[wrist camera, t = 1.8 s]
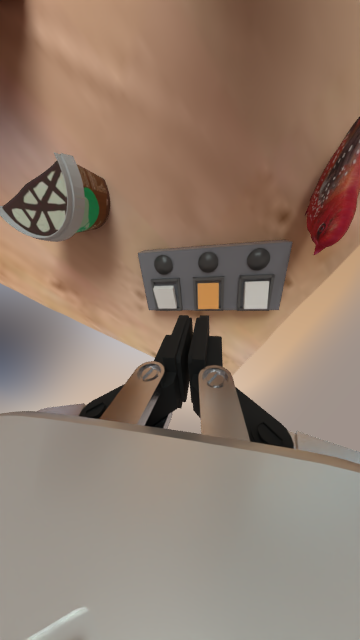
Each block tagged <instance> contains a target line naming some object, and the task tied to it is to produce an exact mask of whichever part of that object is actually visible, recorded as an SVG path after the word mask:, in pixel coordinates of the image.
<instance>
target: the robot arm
mask: <svg viewBox="0 0 360 640" xmlns="http://www.w3.org/2000/svg"><path fill="white" fill-rule="evenodd" d="M189 381H190V391H191V401H192V403H193V410H194V411H195V413H196V414H197V415H198V416H199V417H200V419H201V434H196V433H190V432H183V431H176V430H170V429H167V428H168V426H169V423H170V420H171V417H172V412H173V411H174V410H175V409H177V408H181V407H182V402H186V399H187V393H188V387H189ZM0 640H360V452H357V451H354V450H351V449H348V448H346V447H343V446H340V445H337V444H334V443H331V442H328V441H325V440H322V439H319V438H316V437H313V436H310V435H307V434H304V433H301V432H299V431H296V433H293V432H290V431H287V429H286V428H285V427H284V426H283V425H282V424H281V423H280V422H278V421H277V420H276V419H275V418H273V417H272V416H271V415H270V414H268V413H267V412H266V411H265V410H263V409H262V408H261V407H260V406H258V405H257V404H256V403H255V402H253V401H252V400H251V399H250V398H248V397H247V396H246V395H245V394H243V393H242V392H241V391H240V390H238V389H237V388H236V387H235V385H234V381H233V378H232V375H231V373H230V372H229V371H228V370H227V369H225V368H224V367H223V365H222V338H221V337H218V336H209V316H200V318H196V323H195V327H194V332H193V328H192V318H189V316H188V315H180V316H179V318H178V320H177V323H176V325H175V327H174V330H173V332H172V335H166V336H165V338H164V340H163V342H162V344H161V347H160V349H159V351H158V353H157V355H156V357H155V360H154V361H151V362H146V363H144V364H142V365H140V366H139V367H138V368H137V369H136V370H135V372H134V373H133V374H132V375H131V377H130V378H129V379H128V381H127V382H126V384H124V385H122V386H120V387H118V388H116V389H114V390H113V391H110V392H109V393H107V394H105V395H103V396H101V397H99V398H97V399H95V400H93V401H92V402H90V403H89V404H87V405H86V406H85V404H76V405H68V406H60V407H52V408H45V409H41V410H39V411H37V412H35V411H22V412H9V413H2V414H0Z"/></svg>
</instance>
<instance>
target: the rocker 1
mask: <svg viewBox="0 0 360 640" xmlns="http://www.w3.org/2000/svg"><path fill="white" fill-rule="evenodd" d="M153 291H154V294H155V298H156V301H157V305H158V308H159V309H176V308H177V301H176V295H175V290H174V286H154V288H153Z"/></svg>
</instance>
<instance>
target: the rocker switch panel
mask: <svg viewBox="0 0 360 640" xmlns="http://www.w3.org/2000/svg"><path fill="white" fill-rule="evenodd" d="M291 247H292V241H288V240H273V241H260V242H248V243H235V244H222V245H209V246H196V247H183V248H170V249H157V250H145V251H142V252H139V253H138V257H139V262H140V267H141V272H142V277H143V282H144V287H145V293H146V298H147V303H148V308H149V310H156V311H182V310H195V311H223V310H237V311H269V310H279V306H280V301H281V296H282V291H283V286H284V281H285V276H286V271H287V267H288V262H289V257H290V252H291ZM253 281H269V291H268V303H267V309H244V308H243V304H244V284H245V282H253ZM198 283H219V309H198ZM154 286H174V290H175V295H176V301H177V308H176V309H159V308H158V305H157V301H156V298H155V294H154V291H153V288H154Z"/></svg>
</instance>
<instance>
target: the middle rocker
mask: <svg viewBox="0 0 360 640" xmlns="http://www.w3.org/2000/svg"><path fill="white" fill-rule="evenodd" d="M198 309H219V283H198Z"/></svg>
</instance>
